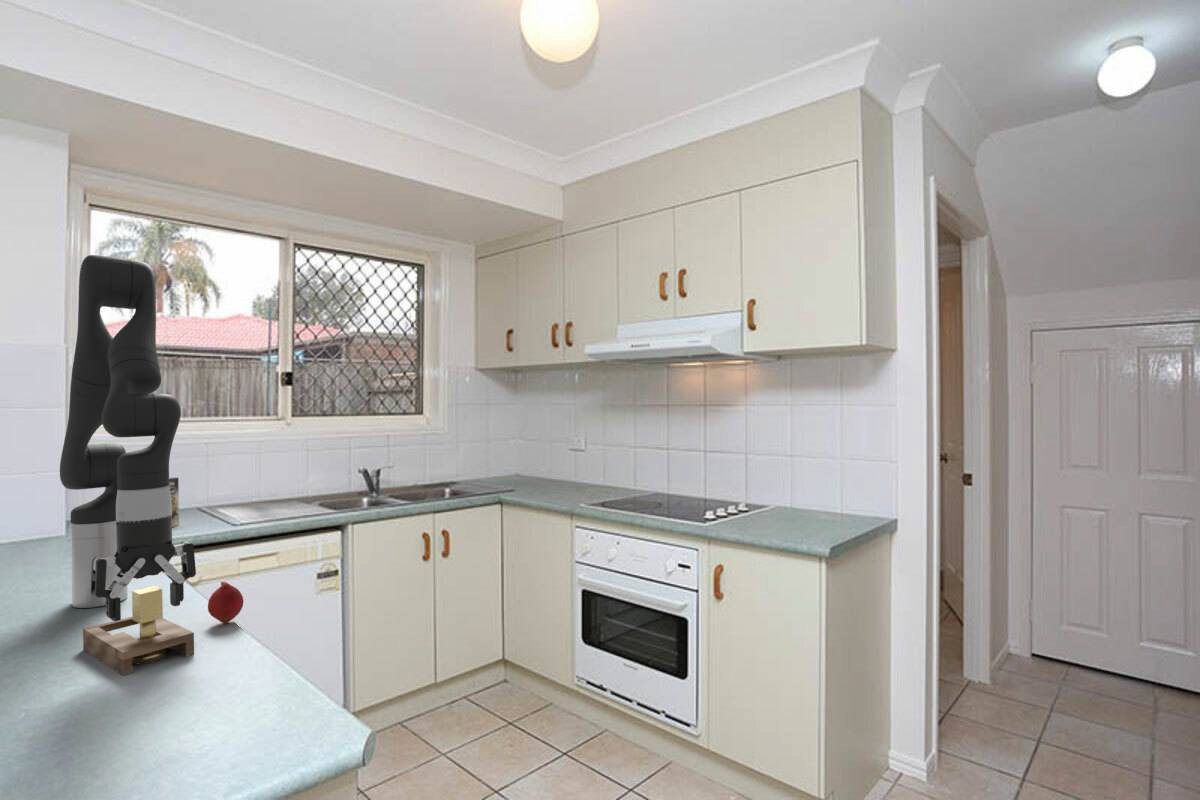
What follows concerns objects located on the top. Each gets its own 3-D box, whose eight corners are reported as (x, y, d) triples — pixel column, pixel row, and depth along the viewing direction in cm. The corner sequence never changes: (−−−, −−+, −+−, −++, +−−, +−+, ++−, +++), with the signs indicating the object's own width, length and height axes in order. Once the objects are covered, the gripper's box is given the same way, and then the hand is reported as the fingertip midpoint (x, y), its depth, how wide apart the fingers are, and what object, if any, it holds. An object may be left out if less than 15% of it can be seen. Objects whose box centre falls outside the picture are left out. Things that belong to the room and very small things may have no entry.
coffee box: (161, 530, 207) (160, 480, 207) (141, 531, 207) (140, 481, 207) (180, 524, 216) (179, 477, 216) (161, 525, 216) (160, 477, 216)
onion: (236, 615, 126) (235, 575, 126) (248, 622, 123) (248, 580, 122) (203, 624, 122) (202, 581, 122) (215, 631, 118) (214, 587, 118)
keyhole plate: (83, 649, 110) (82, 628, 110) (150, 631, 118) (150, 612, 118) (123, 675, 99) (122, 652, 99) (194, 653, 108) (193, 632, 108)
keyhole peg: (125, 659, 106) (124, 591, 106) (158, 649, 110) (157, 584, 110) (137, 666, 103) (136, 596, 103) (170, 655, 107) (169, 588, 107)
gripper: (182, 506, 114) (184, 597, 114) (83, 519, 103) (85, 620, 103) (201, 510, 110) (203, 604, 110) (100, 524, 98) (102, 630, 99)
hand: (146, 612), depth 106 cm, fingers open, 8 cm apart
